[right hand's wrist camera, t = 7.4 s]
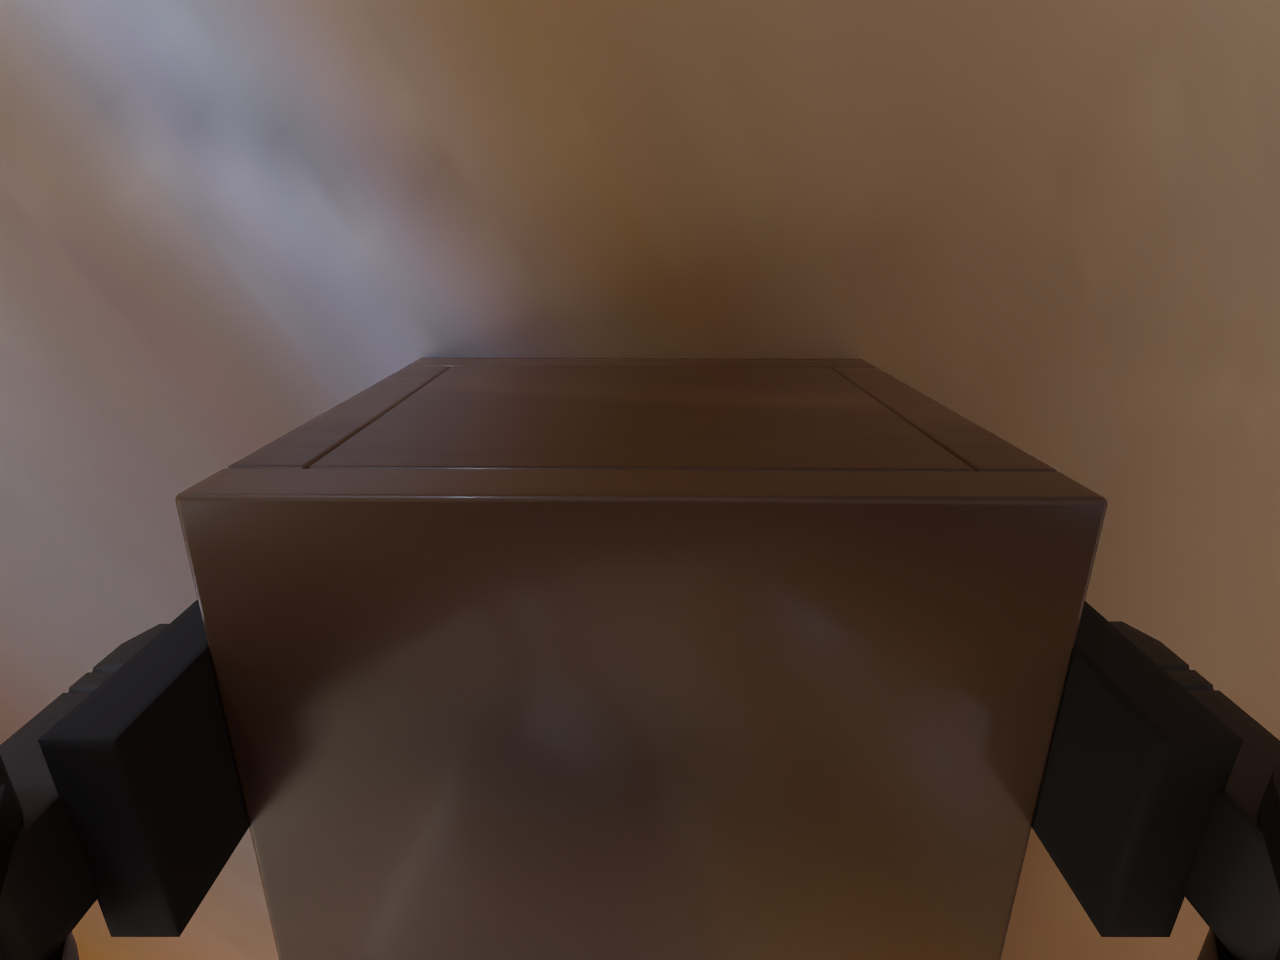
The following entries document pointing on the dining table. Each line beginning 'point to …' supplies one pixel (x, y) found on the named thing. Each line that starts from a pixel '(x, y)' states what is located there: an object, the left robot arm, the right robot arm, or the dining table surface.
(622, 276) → the dining table surface
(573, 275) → the dining table surface
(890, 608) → the cabinet
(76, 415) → the dining table surface
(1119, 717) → the right robot arm
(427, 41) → the dining table surface
